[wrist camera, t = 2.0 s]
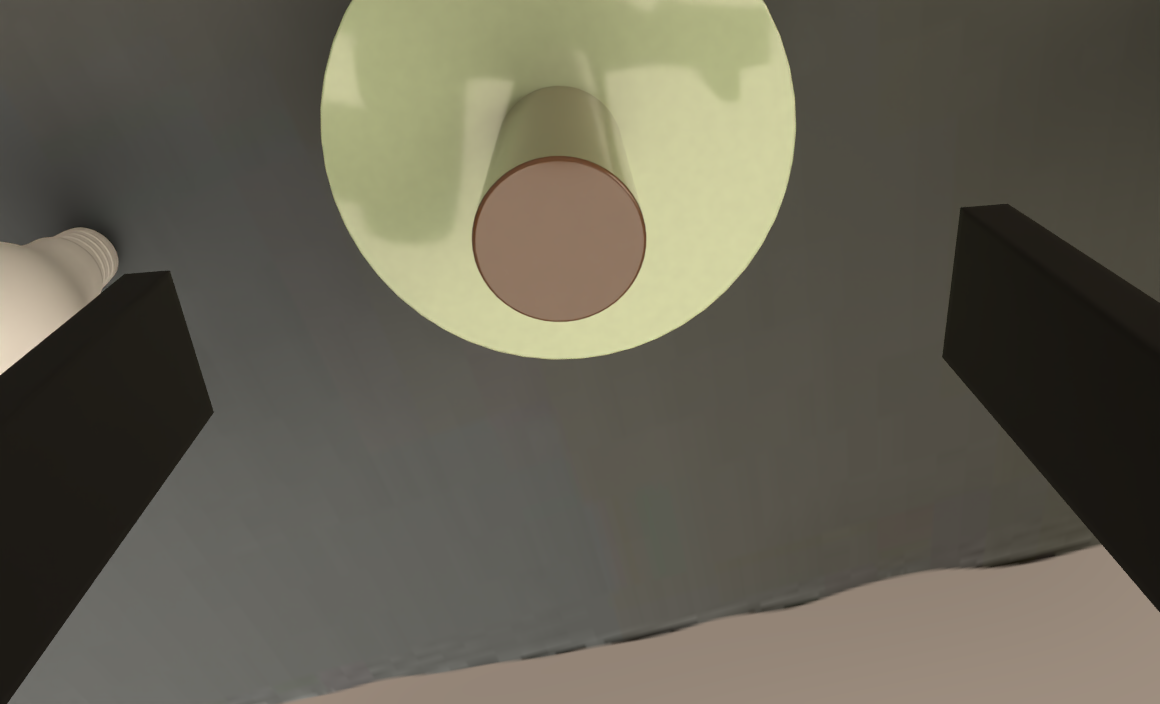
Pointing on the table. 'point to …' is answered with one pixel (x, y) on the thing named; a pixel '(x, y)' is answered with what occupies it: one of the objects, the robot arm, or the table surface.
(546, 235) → the canister lid
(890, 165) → the table surface
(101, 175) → the table surface
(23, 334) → the lightbulb
